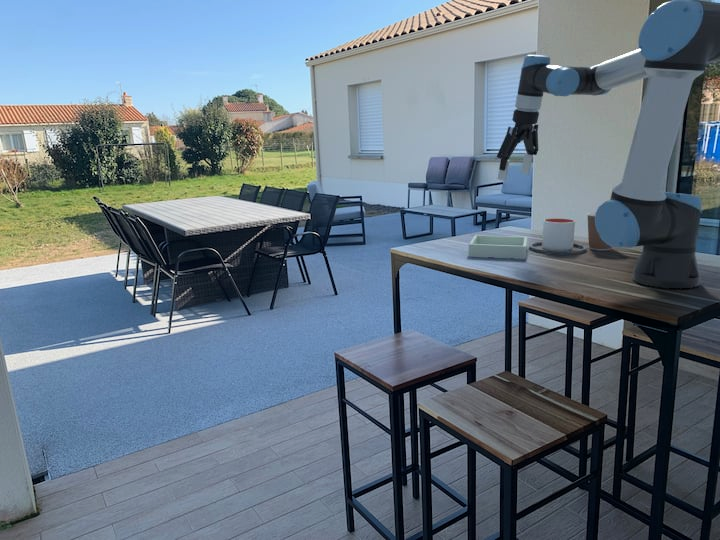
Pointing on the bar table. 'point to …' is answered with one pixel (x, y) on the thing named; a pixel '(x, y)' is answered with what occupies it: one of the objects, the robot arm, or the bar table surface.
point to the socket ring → (582, 250)
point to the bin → (498, 247)
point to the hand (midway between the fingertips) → (513, 176)
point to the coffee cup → (595, 235)
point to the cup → (558, 234)
